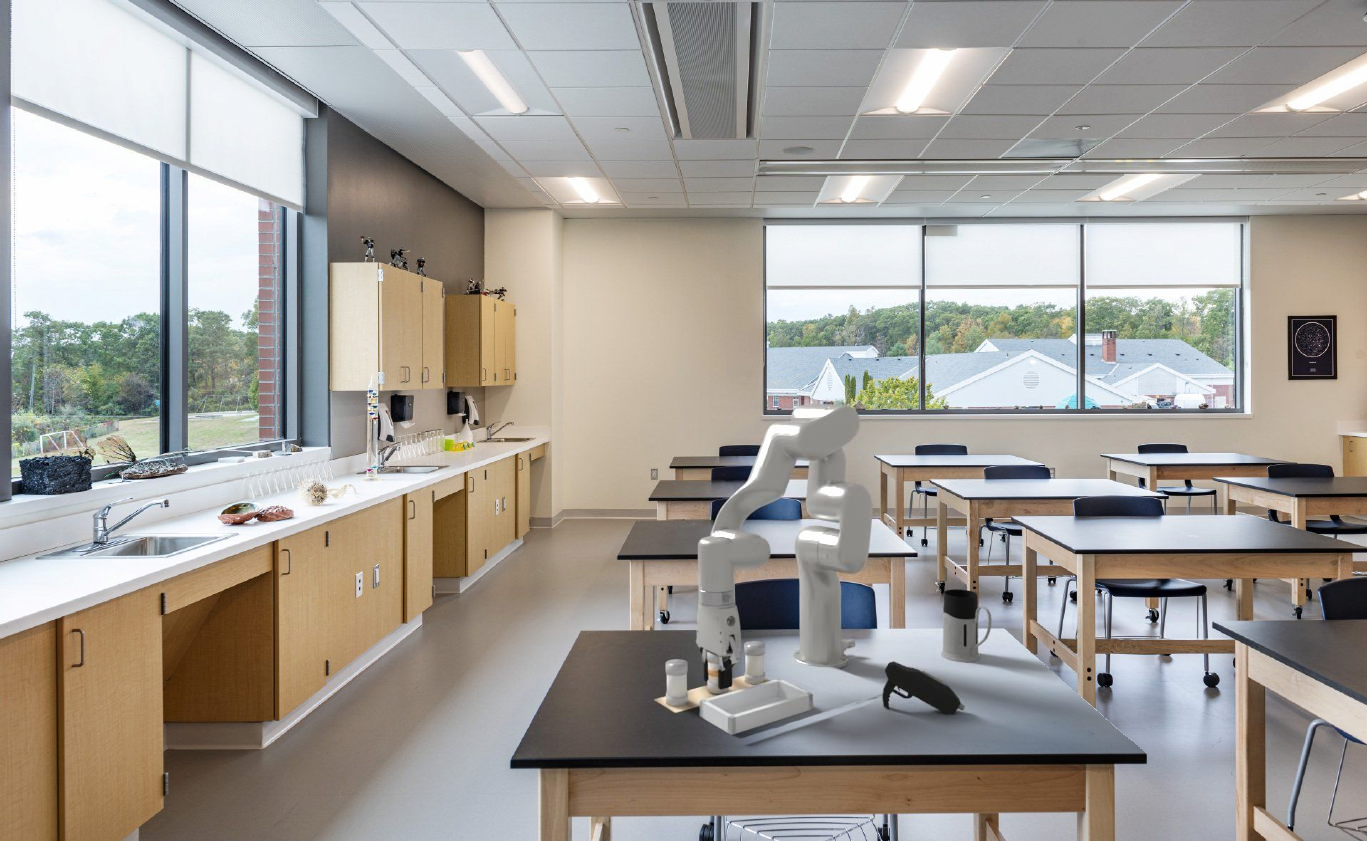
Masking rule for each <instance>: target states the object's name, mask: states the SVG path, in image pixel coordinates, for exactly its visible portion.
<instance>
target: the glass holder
mask: <svg viewBox="0 0 1367 841" xmlns="http://www.w3.org/2000/svg"><path fill="white" fill-rule="evenodd" d="M978 597H979V596H978V593H977V592H975V591H972V590H967V589H955V588H954V589H947V590H945V591H943V607H942V613H943V614H942V651H941V652H940V656H941V657H942V658H943V659H946V660H949V661H952V662H957V663H958V662H959V663H975V662H978V661H980V660H981V655H980V654H979V647H980V646H981V645H982V644H983V643H985V642H986V640H988V637H989V636H990V633H991V628H992V615H991V612H990V609H988V608H987V606H984V605H981V606H978V604H979V603H978V599H979V598H978ZM981 609H983V610H984V611H985V612H986V613H987V618H988V619H987V620H988V623H987V630H986V633H985V635H984V637H983V638H982V640H980V642H979V617H980V616H979V614H980V611H981Z"/></svg>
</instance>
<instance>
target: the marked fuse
mask: <svg viewBox="0 0 1367 841" xmlns="http://www.w3.org/2000/svg"><path fill="white" fill-rule="evenodd" d="M726 653H727V651H726ZM727 659H728V658H727V657H724V661H726V660H727ZM707 661H708V681H707V682H706V683H707V685H706V686H708V691H709V692H711V693H716V694H721V693H725V692H727V691H728V690H729V688H725V689H722V690H721V689H719V688H718V670H720V664H719V657H718V655H717V654H715V653H713V652H711V651H708V650H707Z"/></svg>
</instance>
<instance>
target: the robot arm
mask: <svg viewBox="0 0 1367 841" xmlns="http://www.w3.org/2000/svg"><path fill="white" fill-rule="evenodd" d="M860 424H861V422H860V416H859V413H858V412H857V411H856V409H855V408H853V407H852V406H850V405H847V404H841V403H840V404H837V403H836V404H830V403H829V404H828V403H827V404H826V403H825V404H823V403H809V404H802V405H799V406H797V407H796V408H794V409H793V411H792V412H791V416H790V420H784V421H777V422H774V423H773V424H771V425H770V426H769V427H768V428H767V429H766V432H765V434H764V437H763V439H762V442H761V443H760V444H761V445H760V447H759V450H758V453H757V455H756V458H755V461H754V463H753V466H752V468H751V471H750V474H749V476H748V479H747V481H746V482H745V483H744V484H742V486H741V487H739V489H737V490H736V491H735V492H734V493H733V494H732V495H731V496H730V497H729V499H727V500H726V502H724V504H723V505H722V507H721V508H720V510H719V511H718V513H717V515H716V518H715V521H714V524H713V525H712V528H711V531H710V535H709V536H706V537H702V538H701V539H699V541H698V543H697V568H698V569H697V574H698V575H697V577H698V579H697V581H698V583H697V584H698V588H697V589H698V606H697V614H696V639H695V643H696V645H697V646H698V648H699V651H700V654H701V661H702V662H703V681H704V682H706V683H707V681H708V661H707V650H708V651H711V652H713V653H715V654H717V655H718V657H719V664H720V670H718V688H719V689H721V690H722V689H725V688H729V687H732V679H733V669H734V668H735V665H736V664H737V663H738V662H740V661H741V655H740V653H741V651H742V635H741V632H742V631H741V623H740V615H739V611H738V606H737V605H736V592H735V591H736V590H735V588H736V586H735V585H736V584H735V582H736V581H735V580H736V579H735V576H736V575H735V572H736V571H741V570H744V571H745V570H757V569H760V568H762V567H763V566H764V565H766V564H767V562H768V561H769V560H770V558H771V554H772V553H771V550H772V549H771V546H770V544H769V543H770V542H769V541H768V540H767V539H766V538H765V537H764V536H762V535H760V534H757V533H753V532H748V531H745V530H741V528H742V526H743V524H744V522H745V521H746V520H747V518H748V517H749V516H750V515H751V514H752V513H754V512H755V511H756V510H758V509H759V508H761V507H765V506H766V505H769V504H771V503H774V502H776V501H778V500H779V499H780V500H781V498H783V497H784V495H785V493H786V492H787V488H788V485H789V483H790V480H791V477H792V474H793V472H794V468H795V466H796V463H797V461H803V462H804V461H805V462H808V474H807V483H806V485H807V486H806V495H805V509H806V512H807V514H808V515H809V516H810V517H811V518H813V519H816V520H819V521H823V522H830V523H836V524H839V528H834V527H829V526H823V525H809V526H806V527H804V528H802V529H801V530H800V531H799V532H798V533H797V535H796V538H795V540H794V553H795V558H796V562H797V570H798V579H799V580H798V581H799V650H796V651H795V652H794V653H793V655H792V656H793V657H792V658H793V659H794V661H796V662H797V663H799V664H802V665H807V666H811V667H819V668H821V667H822V668H828V667H829V668H831V667H833V668H835V669H841V668H843V667H846V666H847V665H848V663H849V657H848V655H847V654H846V653H845V651H847V649H852V648H854V647H856V642H855V640H854V639H853V638H851V639H847V640H843V638H842V586H841V581H840V577H839V575H838V573H841V574H846V575H855V574H858V573H861V571H863V569H864V568H865V566H866V565H867V561H868V558H869V552H870V544H871V536H872V535H871V533H872V521H873V514H874V512H873V508H874V507H873V506H874V505H873V500H872V496H871V494H870V492H869V489H867V488H866V487H865V486H864V485H862V484H860V483H856V482H851V481H846V471H847V469H846V468H847V467H846V465H847V462H846V455H845V451H844V449H843V447H844V446H847V444H849V443H850V442H852V441H853V440H854V439H855V437H856V436H857V435H858V433H859V430H860V426H861V425H860ZM726 651H727V653H726ZM724 657H727V658H728V659H727V660H726V661H724Z"/></svg>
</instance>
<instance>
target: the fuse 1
mask: <svg viewBox="0 0 1367 841" xmlns="http://www.w3.org/2000/svg"><path fill="white" fill-rule="evenodd" d="M688 668H689V667H688V661H687V660H684V659H678V658H677V659H669V660H667V661H666V662H665V674H666V692H665V696H666V704H667V705H669V706H672V707H682V706H685V705H687V704H688V693H687V691H688V685H687V684H688V681H687V680H688V679H687V678H688V676H687V674H688V670H689V669H688Z"/></svg>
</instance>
